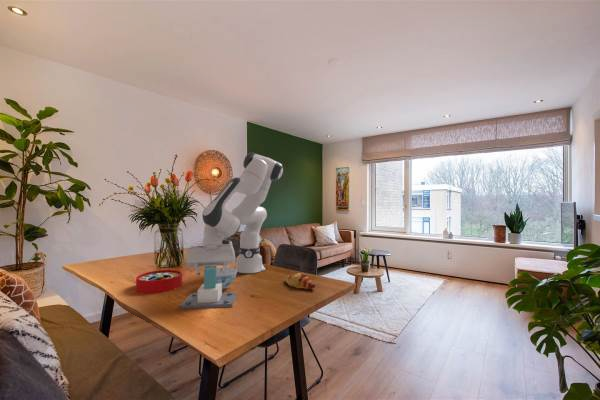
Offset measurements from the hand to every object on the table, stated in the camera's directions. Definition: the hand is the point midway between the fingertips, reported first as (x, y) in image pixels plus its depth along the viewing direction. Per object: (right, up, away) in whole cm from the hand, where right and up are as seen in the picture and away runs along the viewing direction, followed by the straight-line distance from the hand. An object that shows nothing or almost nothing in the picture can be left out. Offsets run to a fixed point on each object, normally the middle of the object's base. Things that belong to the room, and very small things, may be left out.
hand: (210, 273), depth 112 cm
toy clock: (-32, -12, +20) cm, 39 cm away
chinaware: (-1, -12, +19) cm, 23 cm away
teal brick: (0, -6, +1) cm, 6 cm away
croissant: (+37, -12, +22) cm, 45 cm away
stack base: (0, -12, +1) cm, 12 cm away
